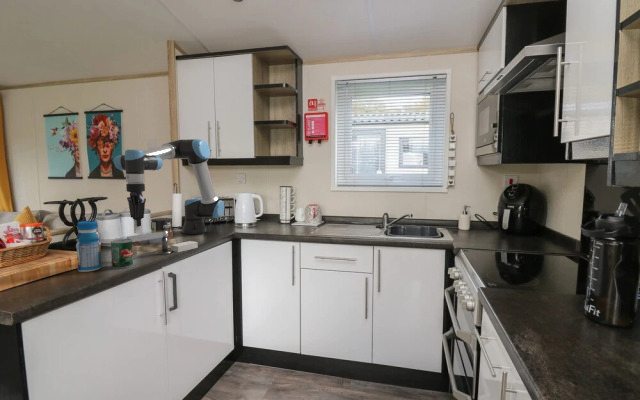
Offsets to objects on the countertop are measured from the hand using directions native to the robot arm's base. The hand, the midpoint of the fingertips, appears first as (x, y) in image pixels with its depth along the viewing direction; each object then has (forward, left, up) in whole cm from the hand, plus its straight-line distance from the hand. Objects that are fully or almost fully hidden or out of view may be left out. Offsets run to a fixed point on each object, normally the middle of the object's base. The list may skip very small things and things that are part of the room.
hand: (137, 232), depth 153 cm
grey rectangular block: (-13, -9, -8) cm, 18 cm away
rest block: (-22, +4, -12) cm, 26 cm away
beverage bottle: (+22, +1, -12) cm, 25 cm away
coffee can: (-25, -20, -12) cm, 34 cm away
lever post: (-11, +3, -12) cm, 17 cm away
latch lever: (-4, +2, -3) cm, 6 cm away
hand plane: (-13, -9, -12) cm, 20 cm away
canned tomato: (+12, +7, -12) cm, 18 cm away
